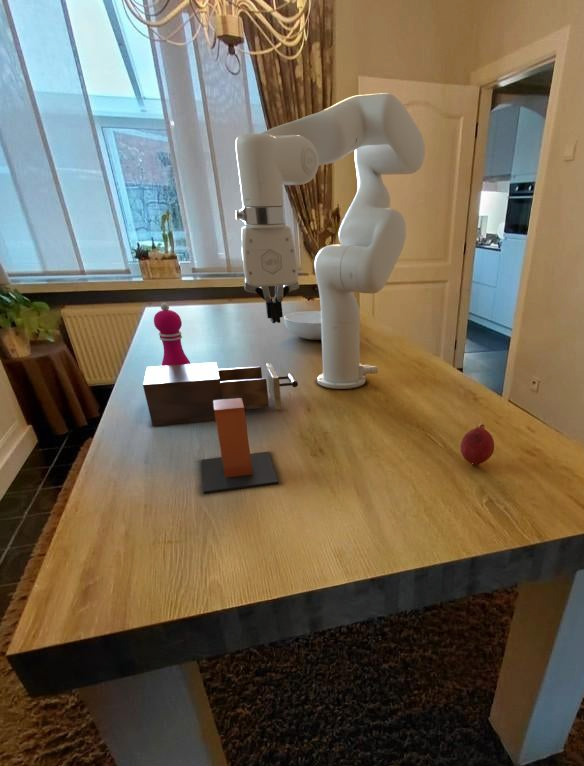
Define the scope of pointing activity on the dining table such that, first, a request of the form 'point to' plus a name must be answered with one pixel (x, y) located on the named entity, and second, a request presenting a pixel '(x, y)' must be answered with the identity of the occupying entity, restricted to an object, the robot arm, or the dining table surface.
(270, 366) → the drawer
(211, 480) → the mat
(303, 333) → the serving bowl
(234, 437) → the tall orange-brown block
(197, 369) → the cabinet
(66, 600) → the dining table surface
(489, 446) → the onion
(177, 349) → the pepper mill
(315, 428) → the dining table surface
